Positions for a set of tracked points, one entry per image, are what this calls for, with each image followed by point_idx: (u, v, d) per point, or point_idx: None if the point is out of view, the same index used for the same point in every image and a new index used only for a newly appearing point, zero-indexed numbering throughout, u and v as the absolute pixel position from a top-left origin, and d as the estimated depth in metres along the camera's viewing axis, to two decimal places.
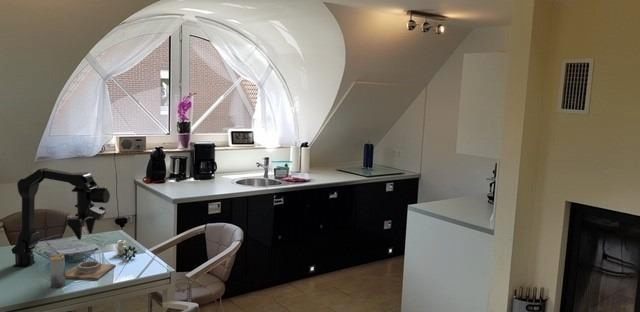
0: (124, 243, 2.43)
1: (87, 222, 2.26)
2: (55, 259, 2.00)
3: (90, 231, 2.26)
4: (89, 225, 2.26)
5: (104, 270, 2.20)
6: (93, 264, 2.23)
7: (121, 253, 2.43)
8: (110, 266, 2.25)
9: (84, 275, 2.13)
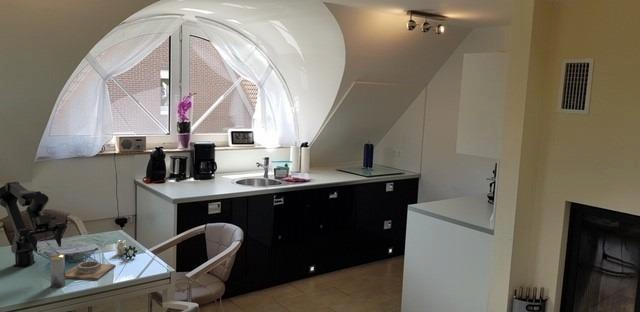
0: (124, 243, 2.43)
1: (55, 238, 2.14)
2: (55, 259, 2.00)
3: (59, 244, 2.11)
4: (57, 239, 2.13)
5: (104, 270, 2.20)
6: (93, 264, 2.23)
7: (121, 253, 2.43)
8: (110, 266, 2.25)
9: (84, 275, 2.13)
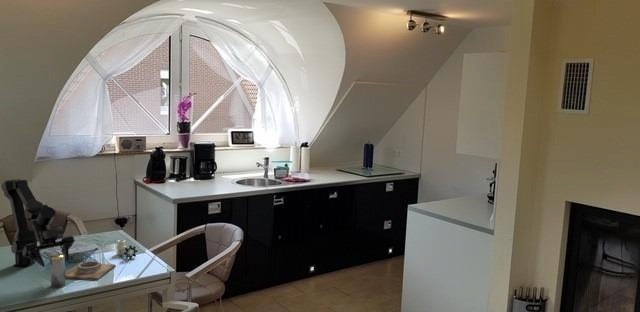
0: (124, 243, 2.44)
1: (63, 252, 2.10)
2: (55, 259, 2.00)
3: (66, 258, 2.08)
4: (64, 253, 2.09)
5: (104, 270, 2.20)
6: (93, 264, 2.23)
7: (121, 253, 2.43)
8: (110, 266, 2.25)
9: (84, 275, 2.13)
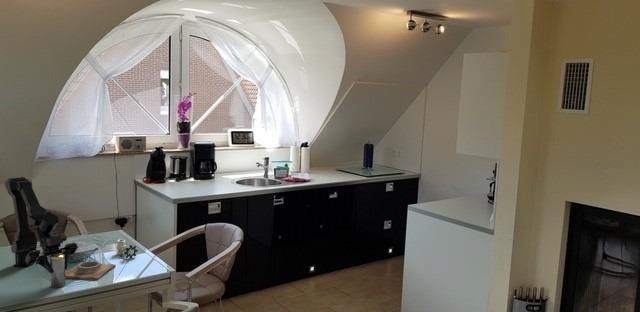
0: (124, 242, 2.44)
1: None
2: (55, 259, 2.00)
3: (65, 267, 2.05)
4: None
5: (104, 270, 2.20)
6: (93, 264, 2.23)
7: (121, 252, 2.44)
8: (110, 266, 2.25)
9: (84, 275, 2.13)
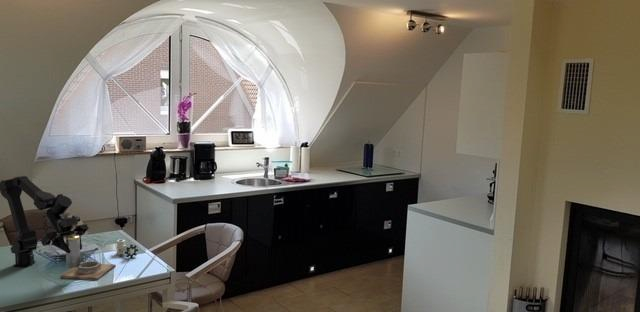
0: (124, 242, 2.45)
1: None
2: (72, 239, 2.06)
3: None
4: None
5: (104, 270, 2.20)
6: (93, 264, 2.23)
7: (121, 252, 2.44)
8: (110, 266, 2.25)
9: (84, 275, 2.13)
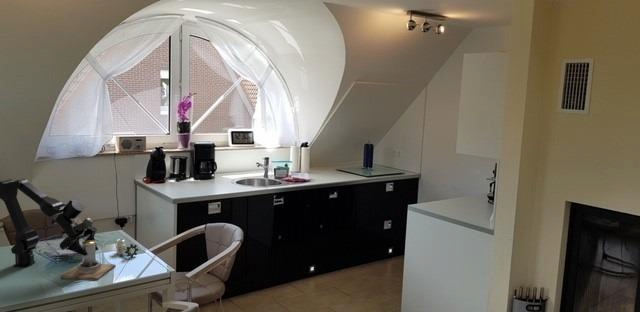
0: (123, 242, 2.45)
1: None
2: (90, 245, 2.16)
3: (95, 248, 2.22)
4: None
5: (104, 270, 2.20)
6: None
7: (121, 252, 2.45)
8: (110, 266, 2.25)
9: (84, 275, 2.13)
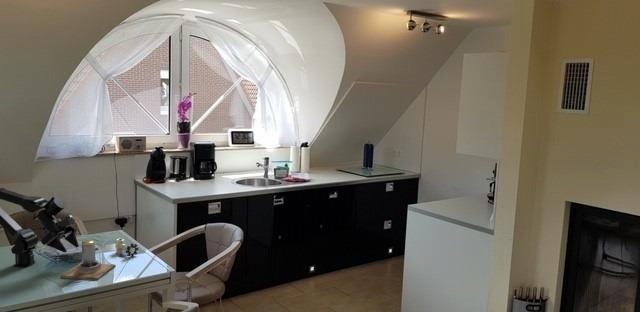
0: (123, 241, 2.46)
1: (69, 240, 2.26)
2: (90, 244, 2.17)
3: (76, 245, 2.25)
4: (72, 241, 2.25)
5: (104, 270, 2.20)
6: None
7: (120, 251, 2.45)
8: (110, 266, 2.25)
9: (84, 275, 2.13)
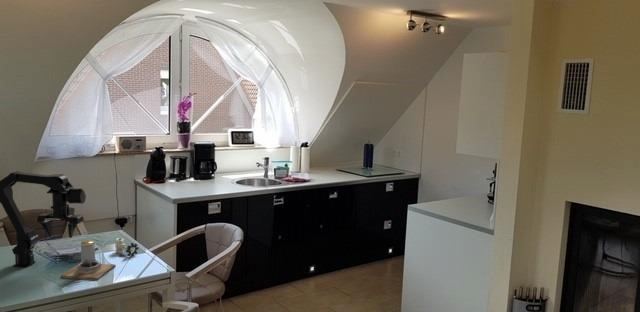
0: (123, 241, 2.46)
1: (48, 226, 2.23)
2: (89, 244, 2.16)
3: (51, 234, 2.25)
4: (49, 228, 2.24)
5: (104, 270, 2.20)
6: None
7: (120, 251, 2.46)
8: (110, 266, 2.25)
9: (84, 275, 2.13)
